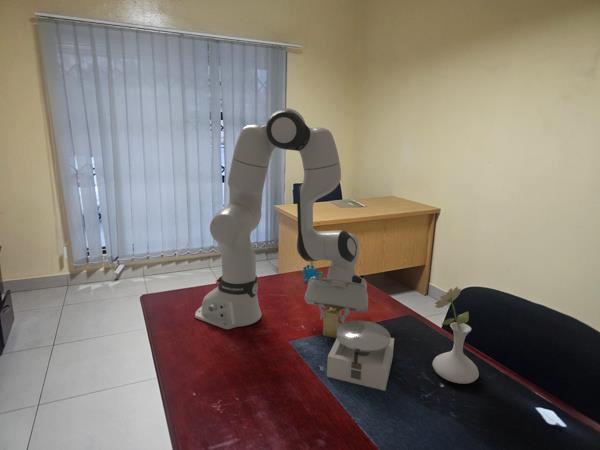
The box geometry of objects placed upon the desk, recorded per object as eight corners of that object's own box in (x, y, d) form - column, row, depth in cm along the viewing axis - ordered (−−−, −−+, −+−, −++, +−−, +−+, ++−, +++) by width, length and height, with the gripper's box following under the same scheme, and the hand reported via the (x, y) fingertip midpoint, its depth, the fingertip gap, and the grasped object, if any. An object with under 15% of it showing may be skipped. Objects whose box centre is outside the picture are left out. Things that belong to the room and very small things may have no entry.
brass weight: (323, 335, 117) (323, 309, 114) (327, 328, 121) (327, 303, 118) (337, 338, 115) (338, 312, 113) (340, 331, 119) (341, 305, 117)
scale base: (326, 377, 97) (327, 357, 95) (341, 346, 111) (341, 328, 109) (385, 391, 92) (386, 370, 90) (392, 357, 106) (394, 338, 104)
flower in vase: (461, 359, 105) (473, 276, 99) (487, 385, 95) (502, 294, 88) (418, 363, 103) (427, 279, 97) (440, 391, 92) (451, 298, 86)
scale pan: (327, 365, 95) (328, 345, 93) (343, 333, 109) (343, 316, 108) (383, 378, 90) (385, 358, 89) (391, 343, 104) (393, 325, 103)
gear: (310, 287, 148) (300, 265, 151) (302, 293, 151) (292, 272, 155) (329, 283, 155) (319, 262, 159) (320, 289, 159) (311, 269, 163)
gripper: (307, 271, 123) (298, 312, 117) (370, 280, 117) (363, 323, 110) (311, 279, 128) (302, 318, 122) (371, 288, 122) (365, 329, 116)
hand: (331, 321), depth 116 cm, fingers closed on brass weight, 5 cm apart
